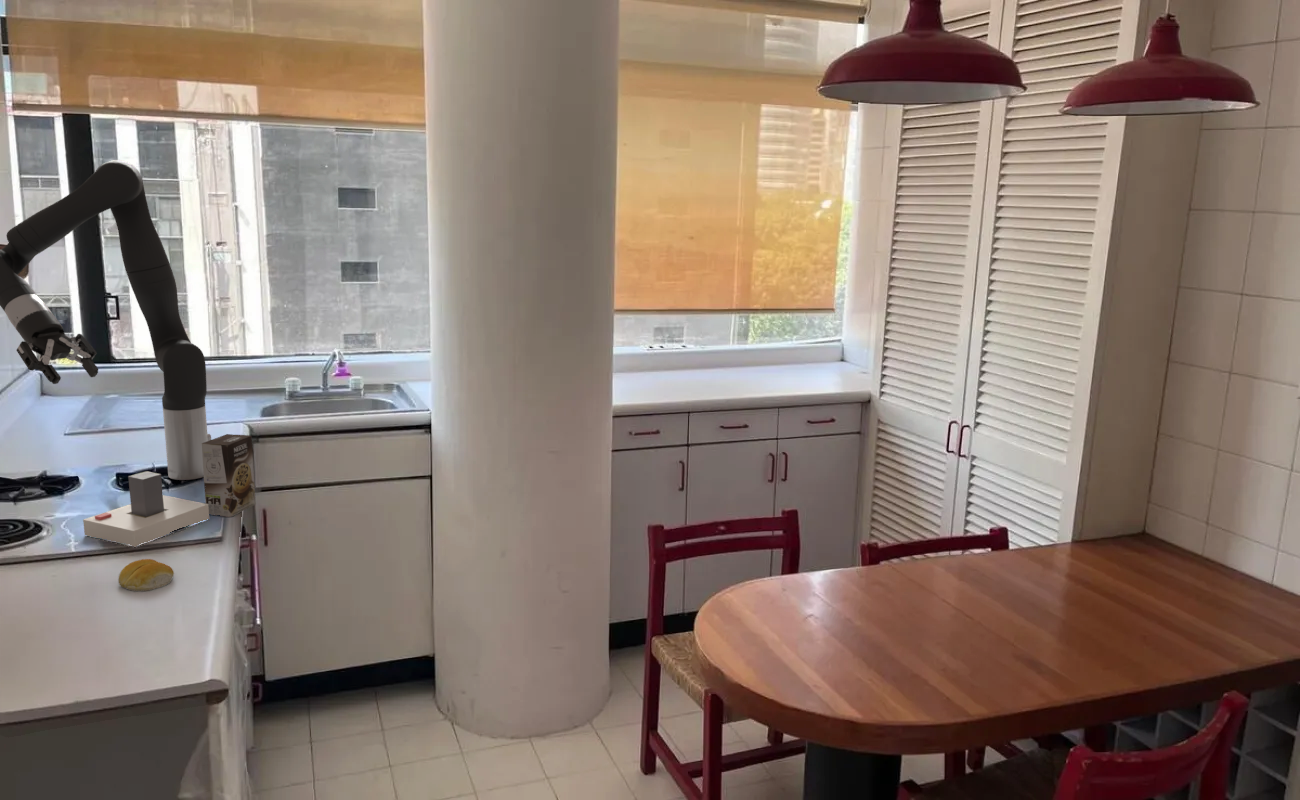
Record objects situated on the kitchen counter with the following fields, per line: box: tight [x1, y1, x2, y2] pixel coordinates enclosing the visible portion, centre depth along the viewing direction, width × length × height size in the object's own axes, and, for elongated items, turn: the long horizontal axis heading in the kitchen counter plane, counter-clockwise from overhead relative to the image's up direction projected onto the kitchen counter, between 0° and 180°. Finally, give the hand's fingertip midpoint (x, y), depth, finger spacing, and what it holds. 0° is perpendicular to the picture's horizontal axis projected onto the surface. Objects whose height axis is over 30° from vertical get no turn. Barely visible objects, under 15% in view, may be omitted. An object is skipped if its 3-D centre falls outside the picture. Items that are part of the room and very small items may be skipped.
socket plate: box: [82, 494, 210, 548], centre depth 193 cm, size 18×14×4 cm
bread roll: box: [117, 558, 175, 592], centre depth 167 cm, size 8×9×4 cm
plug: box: [127, 470, 164, 518], centre depth 192 cm, size 4×4×10 cm
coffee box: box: [202, 433, 256, 518], centre depth 204 cm, size 9×6×16 cm
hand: (76, 378), depth 199 cm, fingers open, 8 cm apart
